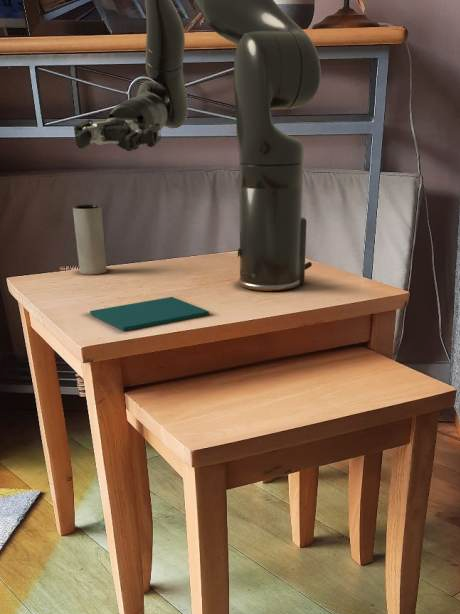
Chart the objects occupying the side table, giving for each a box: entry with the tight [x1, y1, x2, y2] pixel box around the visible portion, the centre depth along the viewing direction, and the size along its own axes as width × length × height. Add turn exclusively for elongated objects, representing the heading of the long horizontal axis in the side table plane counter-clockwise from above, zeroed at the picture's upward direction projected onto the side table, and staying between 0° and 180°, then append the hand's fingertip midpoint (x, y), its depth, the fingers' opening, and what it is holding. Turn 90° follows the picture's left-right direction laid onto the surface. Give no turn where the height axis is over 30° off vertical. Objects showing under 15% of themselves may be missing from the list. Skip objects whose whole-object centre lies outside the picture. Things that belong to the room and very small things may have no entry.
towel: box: [89, 296, 210, 332], centre depth 102 cm, size 13×10×1 cm
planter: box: [72, 204, 108, 275], centre depth 123 cm, size 4×4×10 cm
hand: (103, 143), depth 123 cm, fingers open, 8 cm apart
